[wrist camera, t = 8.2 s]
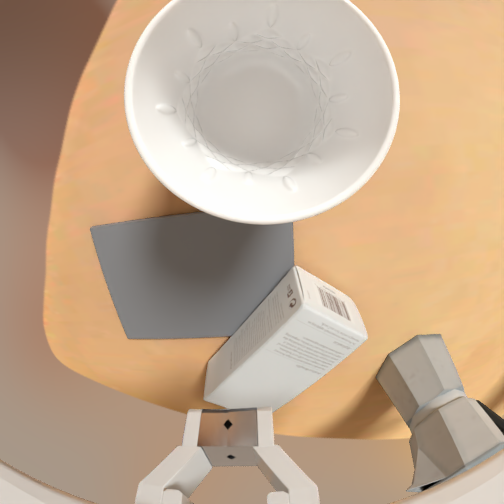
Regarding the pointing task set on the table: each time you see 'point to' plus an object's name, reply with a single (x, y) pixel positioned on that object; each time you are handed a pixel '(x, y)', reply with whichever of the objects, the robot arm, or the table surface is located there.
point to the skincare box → (285, 344)
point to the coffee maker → (438, 412)
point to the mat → (190, 272)
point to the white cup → (262, 105)
